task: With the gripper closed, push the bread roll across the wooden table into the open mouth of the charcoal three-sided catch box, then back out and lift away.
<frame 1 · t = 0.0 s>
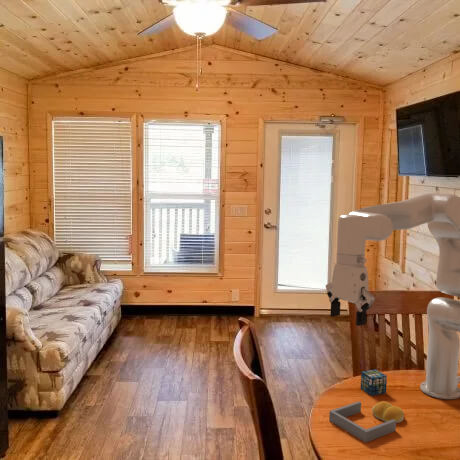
hand: (347, 320, 142), 31 cm above the table, tool pointing down, fingers open, 9 cm apart
bread roll: (387, 417, 152), on the table
puzzle: (373, 391, 170), on the table
catch box: (364, 424, 147), on the table
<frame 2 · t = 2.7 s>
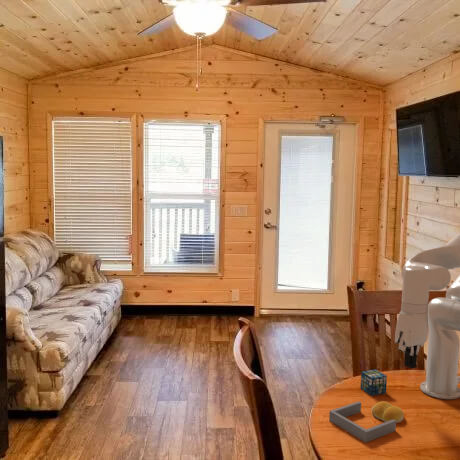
hand: (410, 366, 155), 14 cm above the table, tool pointing down, fingers closed
nothing on the table moved.
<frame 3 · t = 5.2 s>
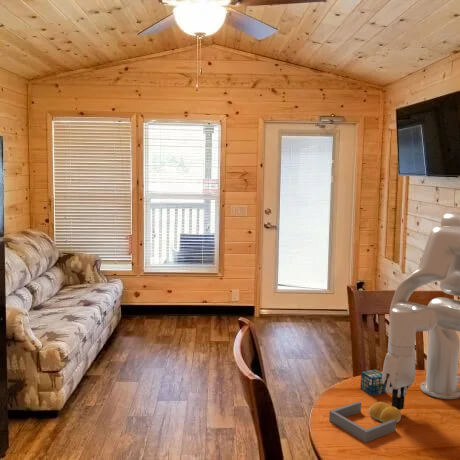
hand: (397, 407, 154), 2 cm above the table, tool pointing down, fingers closed
bread roll: (384, 418, 152), on the table, touching gripper
everything else where it was.
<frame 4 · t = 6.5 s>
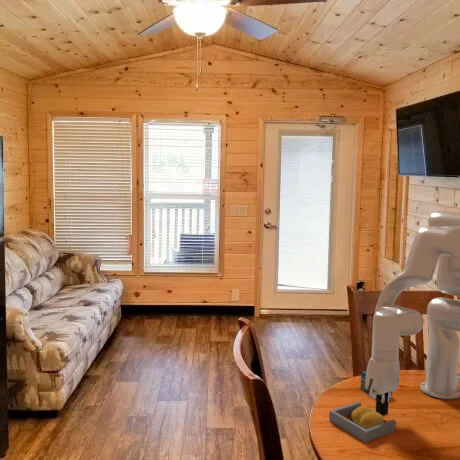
hand: (381, 413, 150), 2 cm above the table, tool pointing down, fingers closed
bread roll: (366, 423, 148), on the table, touching gripper
everything else where it was.
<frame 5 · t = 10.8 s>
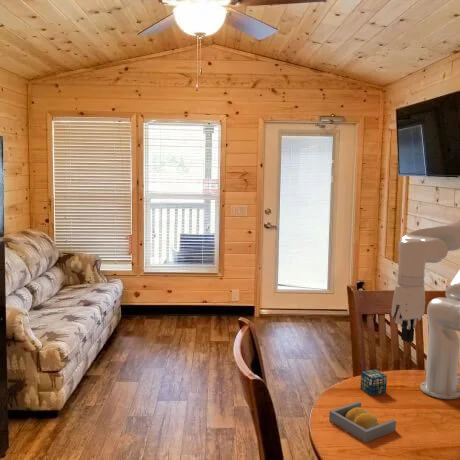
hand: (407, 340, 153), 22 cm above the table, tool pointing down, fingers closed
bread roll: (361, 424, 148), on the table
everything else where it was.
at the end: bread roll inside the target area (1.3 cm from its centre), on the table; bread roll moved 10.0 cm from its start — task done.
